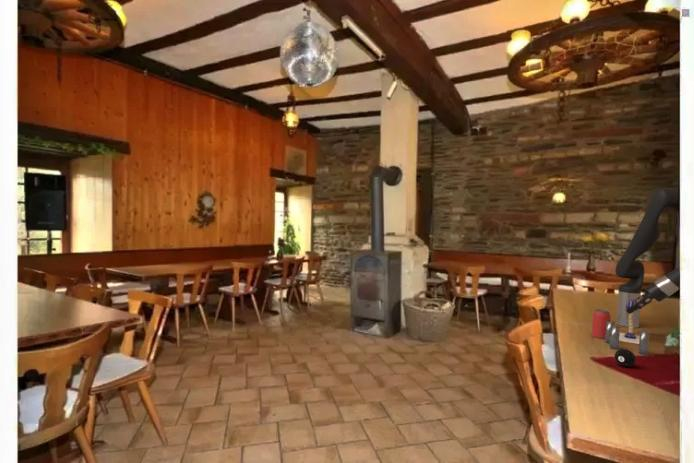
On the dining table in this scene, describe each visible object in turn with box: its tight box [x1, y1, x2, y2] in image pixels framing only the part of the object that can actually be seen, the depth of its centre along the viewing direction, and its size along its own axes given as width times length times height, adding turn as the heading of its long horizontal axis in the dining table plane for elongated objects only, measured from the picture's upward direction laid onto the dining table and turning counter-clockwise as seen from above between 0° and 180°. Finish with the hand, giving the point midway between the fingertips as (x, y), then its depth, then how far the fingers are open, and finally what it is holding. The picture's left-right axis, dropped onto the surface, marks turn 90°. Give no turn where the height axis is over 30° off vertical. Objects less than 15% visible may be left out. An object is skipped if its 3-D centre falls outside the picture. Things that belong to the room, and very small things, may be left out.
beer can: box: [591, 308, 611, 340], centre depth 175 cm, size 7×7×12 cm
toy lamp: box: [625, 300, 638, 339], centre depth 173 cm, size 5×5×17 cm
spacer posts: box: [604, 320, 650, 356], centre depth 159 cm, size 11×16×9 cm, turn 39°
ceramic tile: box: [619, 332, 640, 345], centre depth 173 cm, size 12×12×1 cm
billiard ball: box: [614, 348, 636, 368], centre depth 139 cm, size 6×6×6 cm
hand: (627, 310), depth 174 cm, fingers open, 8 cm apart
